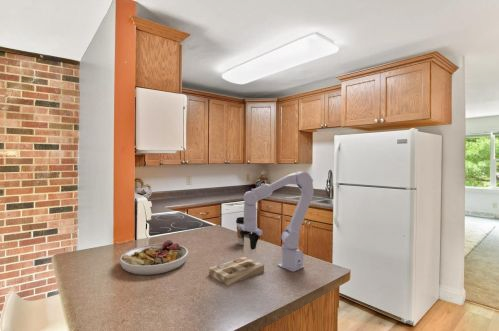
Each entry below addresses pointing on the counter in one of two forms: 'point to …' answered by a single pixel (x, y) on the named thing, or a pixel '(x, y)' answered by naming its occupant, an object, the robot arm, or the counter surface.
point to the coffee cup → (239, 222)
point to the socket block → (236, 270)
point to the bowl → (154, 258)
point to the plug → (248, 245)
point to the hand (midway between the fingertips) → (249, 247)
